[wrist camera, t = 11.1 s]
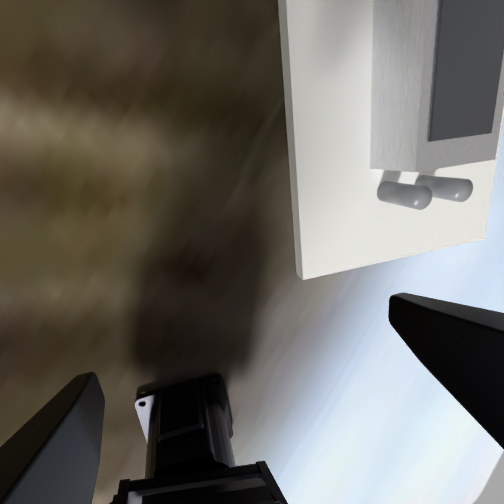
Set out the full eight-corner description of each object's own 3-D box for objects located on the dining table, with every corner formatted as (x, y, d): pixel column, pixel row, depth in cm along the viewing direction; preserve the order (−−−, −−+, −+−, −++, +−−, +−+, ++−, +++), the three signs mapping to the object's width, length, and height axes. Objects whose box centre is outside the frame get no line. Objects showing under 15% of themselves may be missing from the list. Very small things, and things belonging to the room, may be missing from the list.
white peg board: (470, 235, 26) (528, 251, 22) (296, 273, 23) (325, 301, 18) (526, -157, 18) (635, -251, 13) (265, -186, 14) (304, -322, 10)
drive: (438, 158, 21) (497, 159, 17) (369, 168, 20) (416, 172, 16) (455, -18, 18) (533, -65, 14) (373, -18, 17) (434, -67, 13)
